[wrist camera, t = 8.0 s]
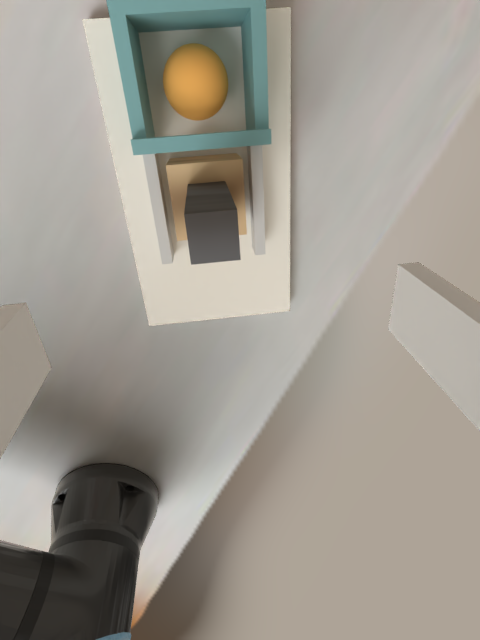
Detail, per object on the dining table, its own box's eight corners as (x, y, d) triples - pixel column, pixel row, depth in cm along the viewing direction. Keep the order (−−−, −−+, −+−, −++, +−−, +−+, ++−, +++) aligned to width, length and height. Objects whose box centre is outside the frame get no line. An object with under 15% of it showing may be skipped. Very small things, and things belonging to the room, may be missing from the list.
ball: (223, 26, 27) (225, 94, 32) (156, 31, 27) (167, 98, 31) (231, 65, 25) (232, 131, 30) (157, 70, 25) (170, 136, 29)
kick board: (287, 305, 43) (295, 321, 40) (150, 319, 42) (146, 337, 39) (286, 11, 30) (298, -2, 26) (87, 23, 29) (72, 11, 25)
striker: (240, 219, 36) (265, 280, 23) (179, 225, 36) (169, 289, 23) (236, 152, 33) (262, 179, 20) (169, 158, 33) (152, 188, 20)
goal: (257, 138, 33) (271, 144, 27) (145, 147, 32) (133, 155, 26) (253, 9, 28) (268, -19, 22) (122, 16, 28) (101, -10, 22)
